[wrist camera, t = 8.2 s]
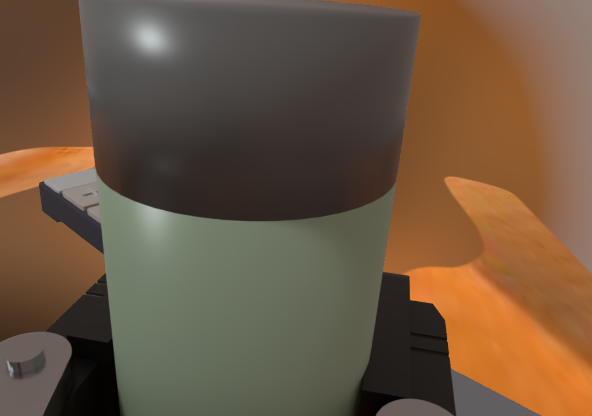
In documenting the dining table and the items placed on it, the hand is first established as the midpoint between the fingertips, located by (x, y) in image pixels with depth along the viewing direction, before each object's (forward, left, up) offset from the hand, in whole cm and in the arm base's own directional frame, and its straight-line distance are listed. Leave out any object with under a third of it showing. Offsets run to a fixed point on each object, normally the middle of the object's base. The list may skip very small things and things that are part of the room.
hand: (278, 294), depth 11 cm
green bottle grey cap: (+1, -2, -7) cm, 8 cm away
